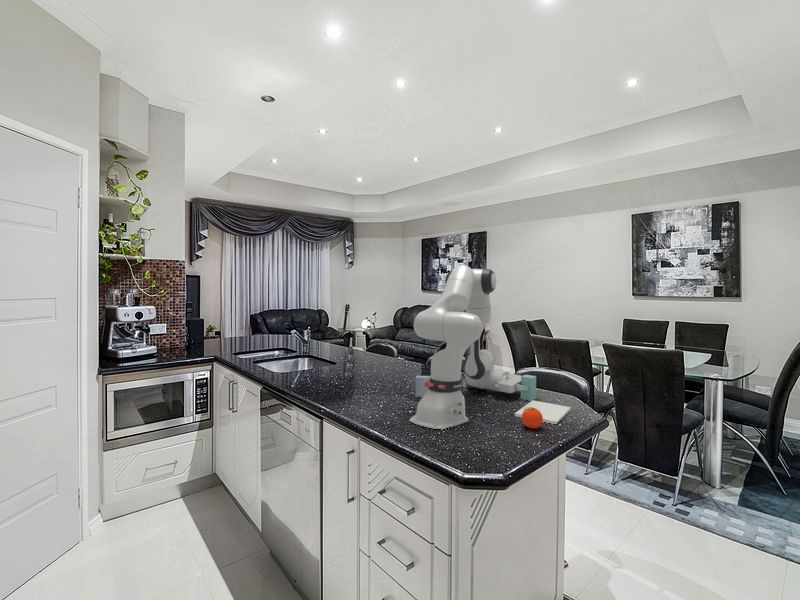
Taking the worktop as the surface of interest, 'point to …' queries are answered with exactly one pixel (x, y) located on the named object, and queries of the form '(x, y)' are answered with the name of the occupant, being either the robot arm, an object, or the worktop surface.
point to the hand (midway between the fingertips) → (530, 386)
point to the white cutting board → (547, 411)
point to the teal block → (530, 382)
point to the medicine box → (421, 385)
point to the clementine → (532, 417)
